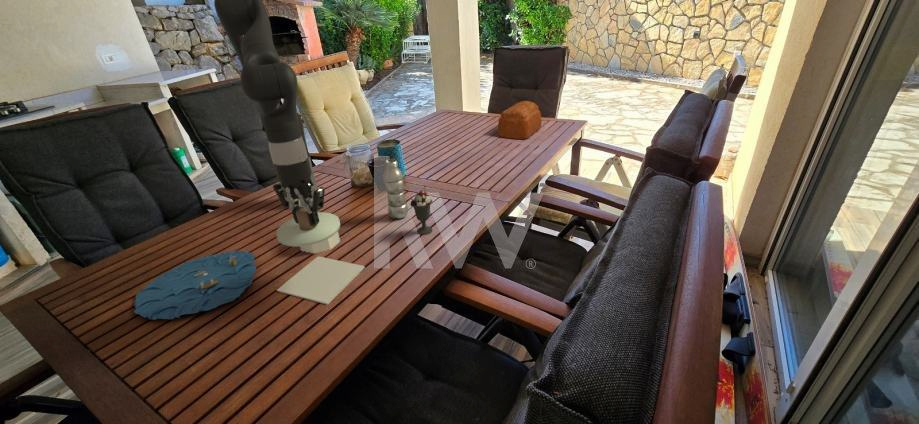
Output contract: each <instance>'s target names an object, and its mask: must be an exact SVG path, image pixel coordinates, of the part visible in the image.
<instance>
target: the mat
mask: <svg viewBox="0 0 919 424" xmlns="http://www.w3.org/2000/svg"><path fill="white" fill-rule="evenodd" d="M365 268H366V267H365V265H361V264H356V263H353V262H352V263H351V262H347V261H343V260H342V261H341V260H338V259H332V258H328V257H322V256H319V255H317V257H315V258H314V259H313V260H312V261H310V262H308V264H307V265H306V266H304V267H303V268H302V269H301V270H299V271H298V272H297V273H296V274H294V275H293V276H292V277H290V279H288V280H287V281H286V282H285V283H283V284H282V285H281V286H279V288H277V289H276V292H278V291H279V293H283V294H286V295H290V296H293V297H297V298H300V299H305V300H308V301H312V302H315V303H320V304H323V305H327V306H328V305H330V303H331V302H332V301H333V300H334V299H335V298H336V297H337V296H338V295H339V294H340V293H341V292H342V291H343V290H344V289H345V288H346V287H347V286H349V284H350V283H351V282H352V281H353V280H354V279H355V278H357V276H358V275H359V274H361V272H362V271H363V270H364V269H365Z"/></svg>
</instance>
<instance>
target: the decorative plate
mask: <svg viewBox="0 0 919 424" xmlns="http://www.w3.org/2000/svg"><path fill="white" fill-rule="evenodd" d="M255 263H256V259H255V256H254V253H253V252H246V251H245V250H244V251H243V250H236V249H235V250H233V251H230V250H229V251H226V252H220V253H216V254H212V255H206V256H205V255H204V256H203V257H197V258H194V259H191V260H190V261H189V260H188V261H184V262H183V263H181V264H178V266H176V267H173V268H172V269H170V270H169V271H166V272H165V273H162V274H160V275H159V276H157V277H156V278H155V279H152V281H150V282H149V283H148V284H147V285H146V286H144V287H143V288H142V290H141V291H139V292H138V293H136V295H135V301H134V307H135V309H134V310H133V313H135V315H137V314H138V315H140V316H141V317H143V318H145V319H146V318H147V320H153V321H154V320H157V319H162V320H174V319H175V318H178V319H180V318H181V317H180V316H182V315H190V314H197V313H199V312H203V311H204V312H207V311H210V310H212V309H216V308H217V307H218V306H219V307H220V306H221V305H224V304H227V303H230V302H233V301H235V300H236V298H237V299H238V298H241V294H243V293H244V291H245V290H246V288H248V287H249V286H251V284H252V283H253V281H254V280H255V278H253V276H255V273H256V269H257V265H256V264H255Z"/></svg>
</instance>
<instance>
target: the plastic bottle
mask: <svg viewBox="0 0 919 424" xmlns="http://www.w3.org/2000/svg"><path fill="white" fill-rule="evenodd" d="M384 163H385V165H384V166H385V168H386V169H385V170H384V171H383V174H382V180H383V183H384V186H385V190H386V194H387V212H388V214H389V217H391V218H393V219H395V220H396V219H403V218H405V217H406V216H407V215H408V213H409V207H408V204H407V202H406V197H405V192H404V189H405V188H404V175H403V172H402V171H401V169H400V168H399V167H398V166H399V164H398V160H397V159H395V158H390V159H386V160H385V161H384Z"/></svg>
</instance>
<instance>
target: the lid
mask: <svg viewBox="0 0 919 424" xmlns="http://www.w3.org/2000/svg"><path fill="white" fill-rule="evenodd" d="M307 213H308V212H307V210H306V208H305V207H301V208H300V209H298V210H296V216H297V219H298V223H299V224H297V223H296V222H295V220H294V217H293V218H290V219H289V220H286V221H285V222H284V223H282V224H281V225H280V226H279V227H278V228H277V230H276V232H275V233H276V236H275V237H276V239H277V241H278V242H279V244H281V245H284V246H288V247H294V248H295V247H297V248H298V247H300V246H308V245H312V244H316V243H319V242H322V241H324V240H326V239H328V238H330V237H331V236H333V235H334V234H335V233H336V232H337V231H338V232H339V230H340V228H341V222H340V218H339V216H337V215H336V214H333V213H330V212H323V211H321V212H320V211H319V212H318V211H317V213H318V217H319V223H318V224H317V225H316V226H314V227H313V226H311V225H310V221H309V218H308V214H307Z"/></svg>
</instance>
